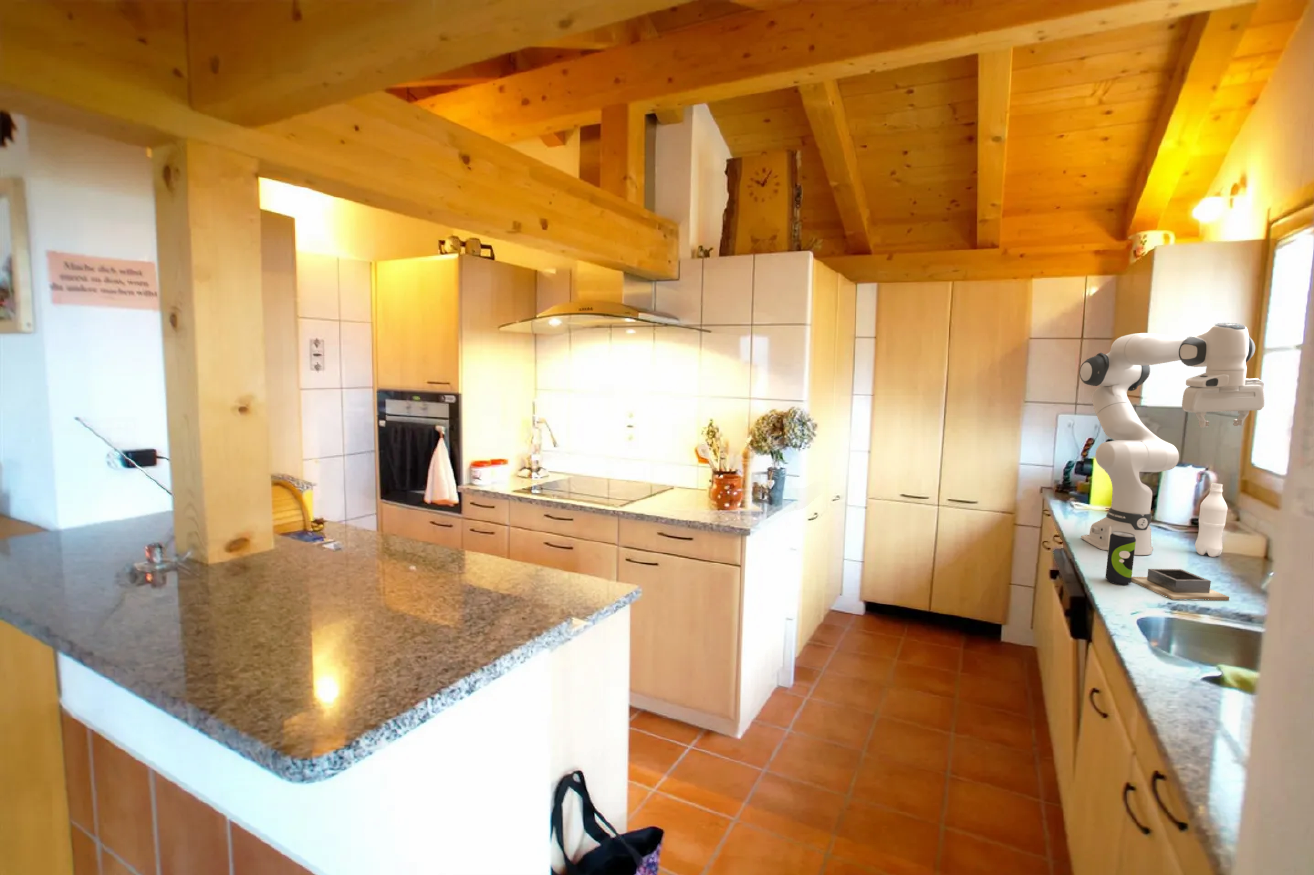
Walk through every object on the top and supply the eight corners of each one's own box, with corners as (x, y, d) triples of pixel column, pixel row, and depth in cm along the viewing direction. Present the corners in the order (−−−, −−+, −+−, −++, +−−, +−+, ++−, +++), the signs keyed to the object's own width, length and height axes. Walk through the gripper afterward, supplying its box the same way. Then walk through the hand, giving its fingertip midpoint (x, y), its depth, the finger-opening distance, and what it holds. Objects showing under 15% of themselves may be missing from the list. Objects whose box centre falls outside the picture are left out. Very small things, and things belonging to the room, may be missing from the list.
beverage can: (1108, 576, 194) (1113, 529, 192) (1133, 582, 189) (1138, 534, 187) (1102, 581, 190) (1107, 533, 188) (1127, 587, 185) (1133, 537, 183)
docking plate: (1129, 579, 192) (1129, 576, 191) (1180, 580, 192) (1180, 577, 192) (1172, 599, 176) (1173, 596, 176) (1228, 600, 176) (1229, 596, 176)
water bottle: (1227, 557, 215) (1236, 486, 212) (1207, 558, 215) (1216, 486, 212) (1207, 551, 222) (1217, 482, 219) (1188, 551, 222) (1197, 481, 219)
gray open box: (1146, 580, 189) (1148, 568, 188) (1179, 580, 189) (1181, 569, 188) (1174, 592, 179) (1176, 580, 178) (1209, 592, 179) (1210, 581, 178)
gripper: (1254, 377, 185) (1249, 423, 188) (1180, 380, 187) (1176, 426, 189) (1273, 378, 179) (1268, 426, 181) (1196, 381, 181) (1192, 429, 183)
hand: (1220, 426), depth 185 cm, fingers open, 8 cm apart
